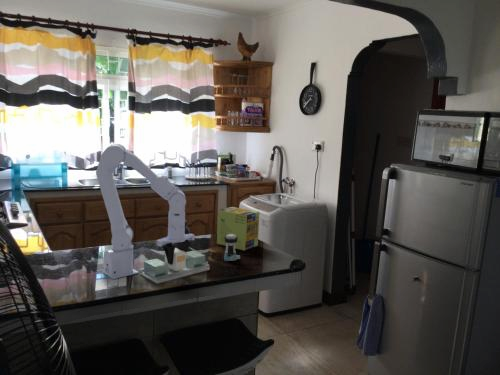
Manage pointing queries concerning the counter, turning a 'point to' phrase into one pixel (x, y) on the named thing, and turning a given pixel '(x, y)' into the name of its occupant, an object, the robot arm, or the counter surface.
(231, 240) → the push button
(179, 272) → the din panel
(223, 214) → the protein box
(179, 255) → the block
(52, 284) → the counter surface
